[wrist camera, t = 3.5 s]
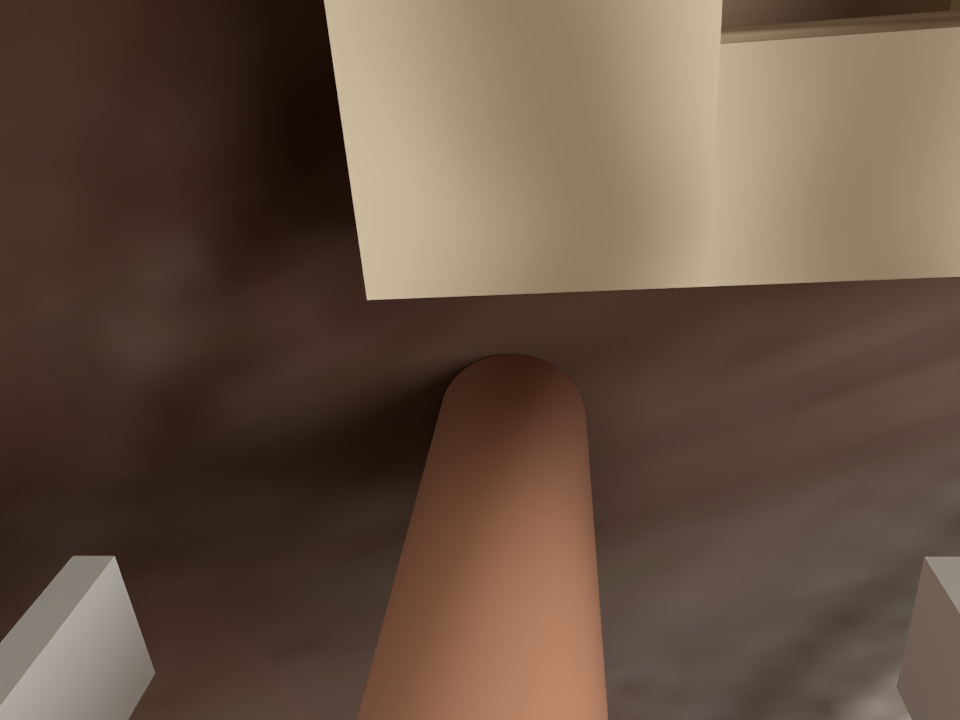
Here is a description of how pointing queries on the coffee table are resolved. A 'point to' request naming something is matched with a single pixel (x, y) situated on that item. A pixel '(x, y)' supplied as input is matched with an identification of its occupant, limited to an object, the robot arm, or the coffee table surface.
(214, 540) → the coffee table surface
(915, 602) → the robot arm
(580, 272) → the bore block
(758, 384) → the coffee table surface
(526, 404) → the pin
